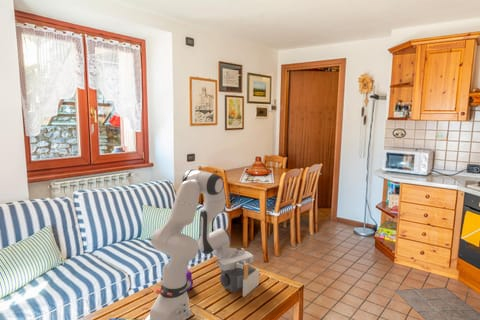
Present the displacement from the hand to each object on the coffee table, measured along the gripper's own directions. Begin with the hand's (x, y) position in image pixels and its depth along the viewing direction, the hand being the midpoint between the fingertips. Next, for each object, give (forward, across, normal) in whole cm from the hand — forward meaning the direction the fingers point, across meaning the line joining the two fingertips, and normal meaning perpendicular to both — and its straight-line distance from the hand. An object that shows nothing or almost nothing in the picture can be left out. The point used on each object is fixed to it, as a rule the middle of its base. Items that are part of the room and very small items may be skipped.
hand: (245, 267), depth 169 cm
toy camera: (-23, -24, +16) cm, 37 cm away
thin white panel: (-1, +6, +15) cm, 16 cm away
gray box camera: (-10, +4, +16) cm, 19 cm away
